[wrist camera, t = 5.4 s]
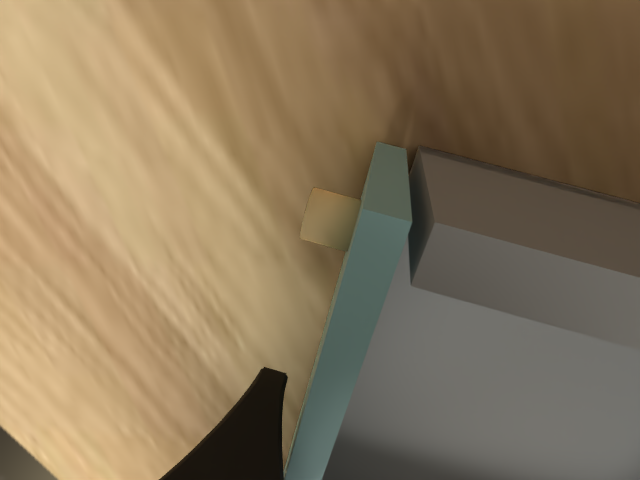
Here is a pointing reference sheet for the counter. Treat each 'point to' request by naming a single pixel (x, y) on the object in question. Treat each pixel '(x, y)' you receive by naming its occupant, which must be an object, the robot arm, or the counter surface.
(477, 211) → the grey open box
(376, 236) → the door
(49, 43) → the counter surface
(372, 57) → the counter surface
